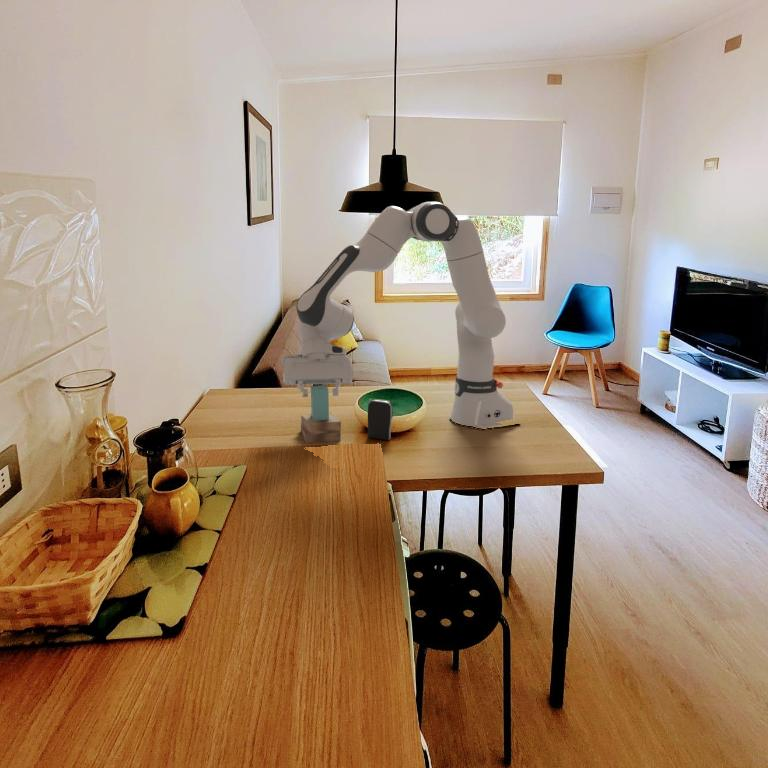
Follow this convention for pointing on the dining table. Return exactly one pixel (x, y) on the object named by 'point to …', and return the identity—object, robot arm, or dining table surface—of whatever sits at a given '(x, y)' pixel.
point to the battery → (380, 419)
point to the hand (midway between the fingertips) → (320, 395)
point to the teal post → (319, 403)
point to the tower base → (320, 436)
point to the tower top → (321, 424)
